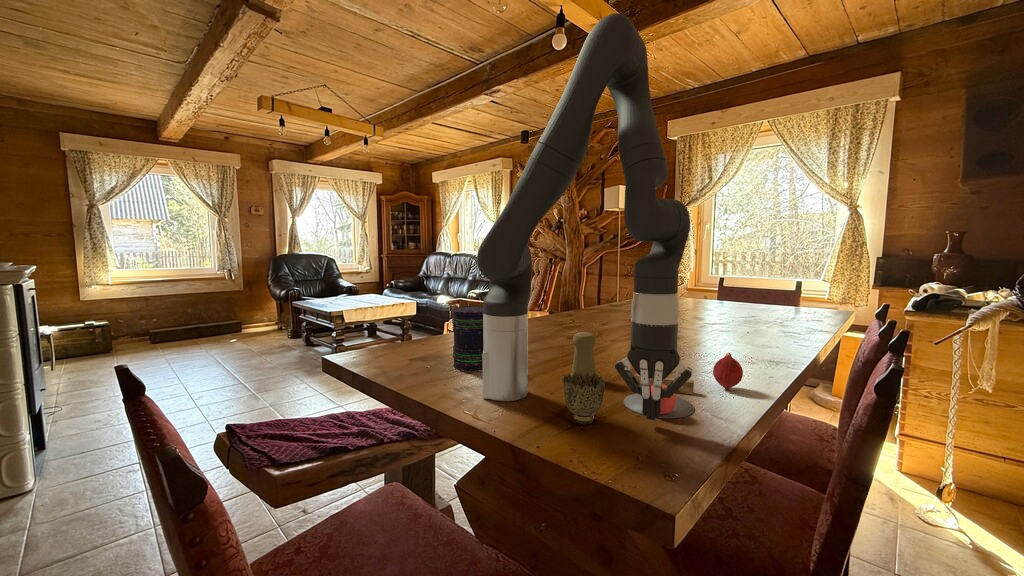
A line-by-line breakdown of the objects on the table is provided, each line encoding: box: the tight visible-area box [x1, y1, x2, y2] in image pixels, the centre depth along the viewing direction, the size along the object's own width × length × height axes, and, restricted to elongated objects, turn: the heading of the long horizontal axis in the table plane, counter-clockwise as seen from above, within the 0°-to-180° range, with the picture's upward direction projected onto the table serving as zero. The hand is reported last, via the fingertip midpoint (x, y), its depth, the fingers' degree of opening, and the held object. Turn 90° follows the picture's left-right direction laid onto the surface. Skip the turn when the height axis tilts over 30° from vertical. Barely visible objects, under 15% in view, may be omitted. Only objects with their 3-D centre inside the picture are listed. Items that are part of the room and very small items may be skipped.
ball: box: [651, 385, 677, 415], centre depth 80 cm, size 6×6×6 cm
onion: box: [712, 352, 744, 390], centre depth 93 cm, size 6×6×8 cm
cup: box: [562, 372, 606, 425], centre depth 76 cm, size 8×7×8 cm
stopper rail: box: [634, 373, 695, 395], centre depth 93 cm, size 12×2×2 cm, turn 65°
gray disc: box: [623, 393, 695, 419], centre depth 85 cm, size 13×13×1 cm
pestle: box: [570, 331, 597, 376], centre depth 100 cm, size 6×6×11 cm
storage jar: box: [451, 305, 483, 372], centre depth 111 cm, size 10×10×15 cm
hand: (651, 418), depth 74 cm, fingers closed
